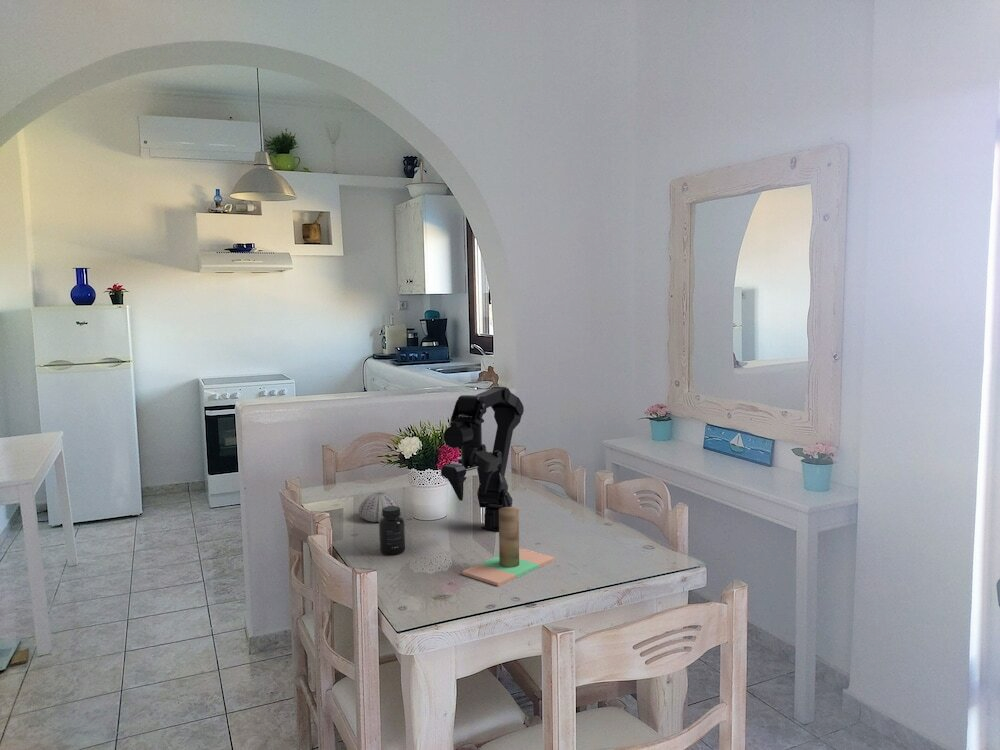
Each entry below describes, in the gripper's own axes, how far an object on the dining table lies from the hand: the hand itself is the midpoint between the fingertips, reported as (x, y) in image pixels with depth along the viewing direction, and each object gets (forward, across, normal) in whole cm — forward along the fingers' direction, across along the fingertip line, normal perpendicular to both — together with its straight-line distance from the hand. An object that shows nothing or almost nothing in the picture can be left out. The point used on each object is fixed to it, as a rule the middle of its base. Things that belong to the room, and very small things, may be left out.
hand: (472, 496), depth 201 cm
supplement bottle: (+13, -19, +12) cm, 26 cm away
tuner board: (+13, -8, -20) cm, 25 cm away
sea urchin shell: (+13, -1, +39) cm, 41 cm away
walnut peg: (+12, -8, -20) cm, 25 cm away
